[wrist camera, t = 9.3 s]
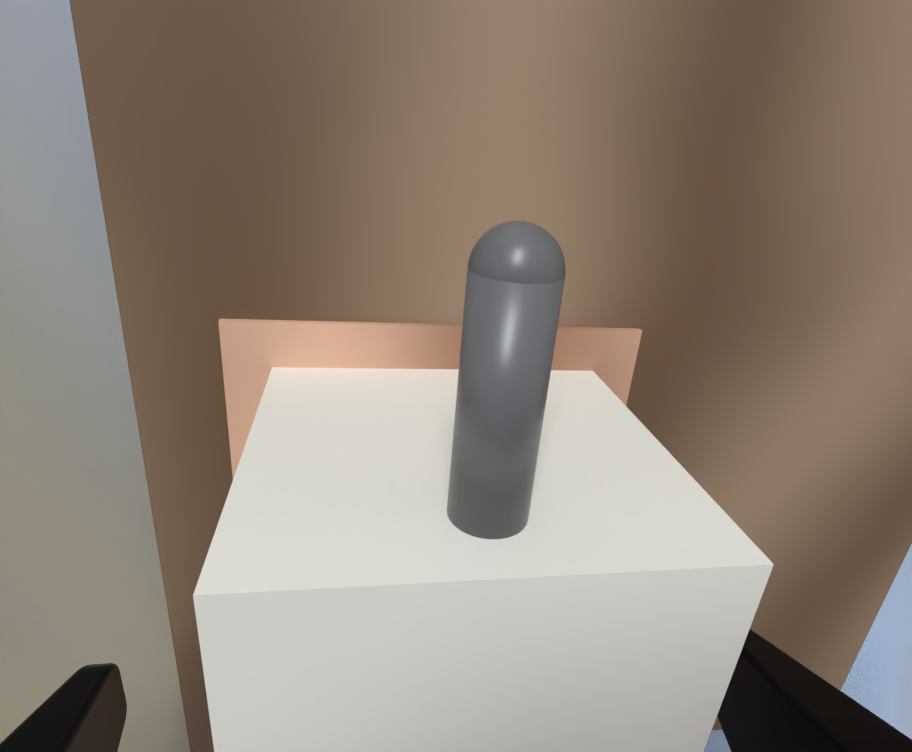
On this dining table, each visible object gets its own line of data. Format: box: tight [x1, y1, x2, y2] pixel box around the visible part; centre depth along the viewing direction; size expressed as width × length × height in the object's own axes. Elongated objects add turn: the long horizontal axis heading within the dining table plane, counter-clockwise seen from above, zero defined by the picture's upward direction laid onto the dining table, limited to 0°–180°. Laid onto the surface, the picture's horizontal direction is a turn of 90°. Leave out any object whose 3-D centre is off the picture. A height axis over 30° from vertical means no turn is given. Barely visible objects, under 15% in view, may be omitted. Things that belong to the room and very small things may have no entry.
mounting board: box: [70, 0, 912, 752], centre depth 9 cm, size 15×18×3 cm
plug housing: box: [193, 221, 774, 752], centre depth 8 cm, size 5×11×4 cm, turn 176°
